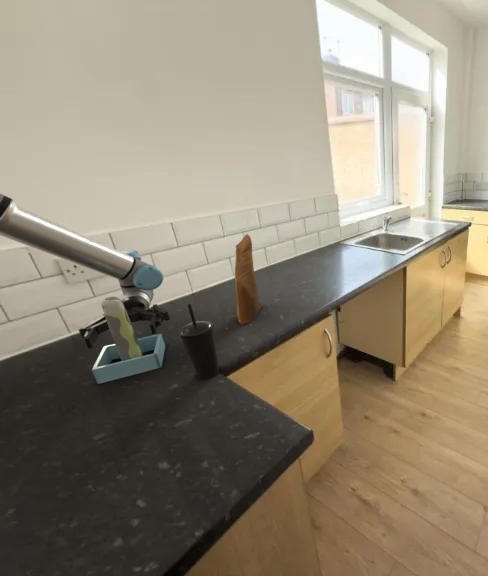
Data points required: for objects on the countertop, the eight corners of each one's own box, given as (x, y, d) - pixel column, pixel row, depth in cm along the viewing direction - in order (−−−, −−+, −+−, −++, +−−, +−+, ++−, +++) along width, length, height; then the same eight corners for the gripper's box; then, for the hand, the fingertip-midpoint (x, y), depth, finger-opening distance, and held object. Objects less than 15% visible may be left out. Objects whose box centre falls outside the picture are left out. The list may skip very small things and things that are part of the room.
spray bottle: (119, 367, 87) (92, 301, 79) (137, 357, 91) (113, 293, 84) (132, 370, 86) (106, 303, 78) (149, 360, 90) (126, 295, 82)
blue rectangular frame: (98, 384, 80) (91, 370, 79) (109, 359, 91) (103, 346, 89) (161, 368, 86) (156, 353, 85) (165, 346, 97) (161, 333, 95)
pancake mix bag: (269, 303, 124) (256, 232, 114) (253, 327, 106) (236, 245, 96) (251, 304, 124) (237, 233, 113) (232, 328, 106) (213, 246, 96)
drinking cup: (184, 381, 81) (162, 310, 73) (207, 363, 87) (188, 297, 80) (210, 385, 79) (189, 313, 71) (231, 367, 86) (214, 299, 78)
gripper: (183, 308, 107) (180, 335, 90) (88, 327, 96) (64, 362, 79) (177, 287, 104) (173, 312, 87) (78, 305, 93) (52, 336, 76)
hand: (121, 336), depth 83 cm, fingers open, 13 cm apart
